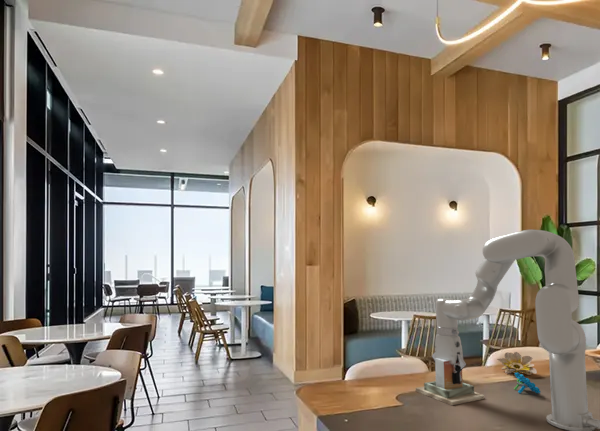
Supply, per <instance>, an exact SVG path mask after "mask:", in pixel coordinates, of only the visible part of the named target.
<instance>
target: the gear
mask: <svg viewBox="0 0 600 431" xmlns="http://www.w3.org/2000/svg"><path fill="white" fill-rule="evenodd" d="M514 376H515V378H516V379H517V380H516V386H514V388H513V390H515V391H516V390H517V389H518V388H519V387H521V388H519V390H518V391H517V392H518V393H519V394H522V392H523V391H524V390H525V389H529V390H530V391H531V392H534V393H535V394H538V395H539V394H541V390H540V388H539V387H538V386H536V384H535V383H534V382H532V381H531V380H530V379H529V378H528V377H526V376H524V374H523V373H520V374H519V373H518V372H517V373H515V372H514Z"/></svg>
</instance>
